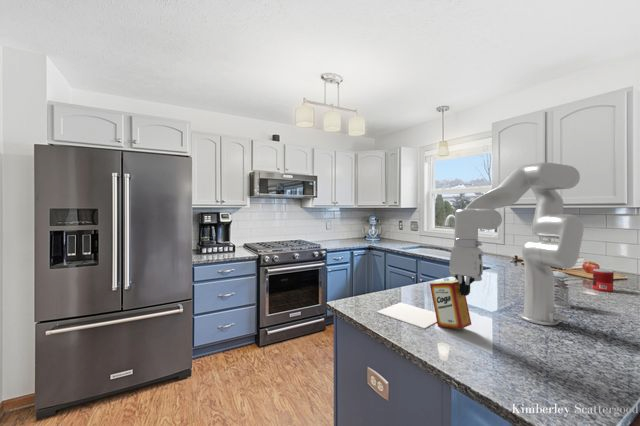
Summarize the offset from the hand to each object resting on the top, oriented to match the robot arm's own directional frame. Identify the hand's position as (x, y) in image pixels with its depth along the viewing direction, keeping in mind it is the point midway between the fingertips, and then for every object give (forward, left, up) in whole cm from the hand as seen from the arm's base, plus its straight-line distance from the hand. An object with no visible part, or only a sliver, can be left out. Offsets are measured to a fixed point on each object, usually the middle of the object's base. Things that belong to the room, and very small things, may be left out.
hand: (464, 294), depth 104 cm
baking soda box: (+4, 0, -12) cm, 13 cm away
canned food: (-27, -111, -14) cm, 115 cm away
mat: (+21, 0, -13) cm, 25 cm away
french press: (-15, -63, -14) cm, 66 cm away
